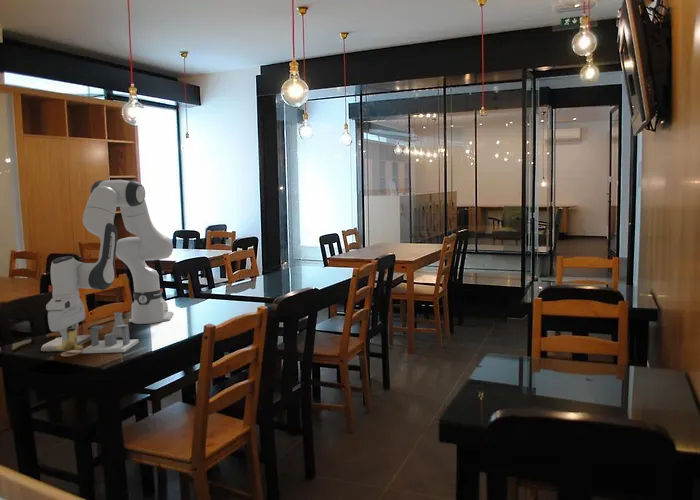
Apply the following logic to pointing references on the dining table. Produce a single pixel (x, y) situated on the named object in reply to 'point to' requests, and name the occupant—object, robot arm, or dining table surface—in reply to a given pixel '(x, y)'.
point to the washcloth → (58, 341)
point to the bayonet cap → (70, 341)
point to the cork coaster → (71, 353)
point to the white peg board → (110, 341)
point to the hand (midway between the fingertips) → (69, 337)
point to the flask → (118, 322)
